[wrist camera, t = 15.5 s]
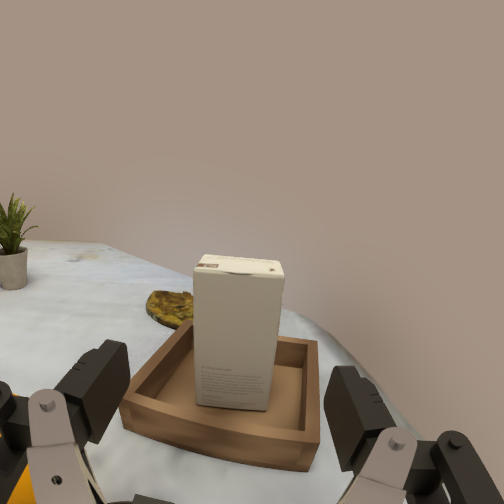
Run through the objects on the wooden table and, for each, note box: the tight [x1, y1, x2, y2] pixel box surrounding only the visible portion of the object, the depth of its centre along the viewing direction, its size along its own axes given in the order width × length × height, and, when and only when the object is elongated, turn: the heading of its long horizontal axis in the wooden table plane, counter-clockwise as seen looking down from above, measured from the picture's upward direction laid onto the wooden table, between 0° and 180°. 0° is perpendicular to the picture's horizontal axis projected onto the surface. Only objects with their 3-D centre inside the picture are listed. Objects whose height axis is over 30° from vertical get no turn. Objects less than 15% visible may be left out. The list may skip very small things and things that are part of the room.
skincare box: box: [193, 254, 285, 411], centre depth 22 cm, size 6×4×12 cm
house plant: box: [0, 194, 38, 290], centre depth 37 cm, size 14×14×16 cm
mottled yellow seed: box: [146, 291, 193, 330], centre depth 39 cm, size 9×5×15 cm
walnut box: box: [118, 319, 320, 472], centre depth 23 cm, size 14×14×4 cm
